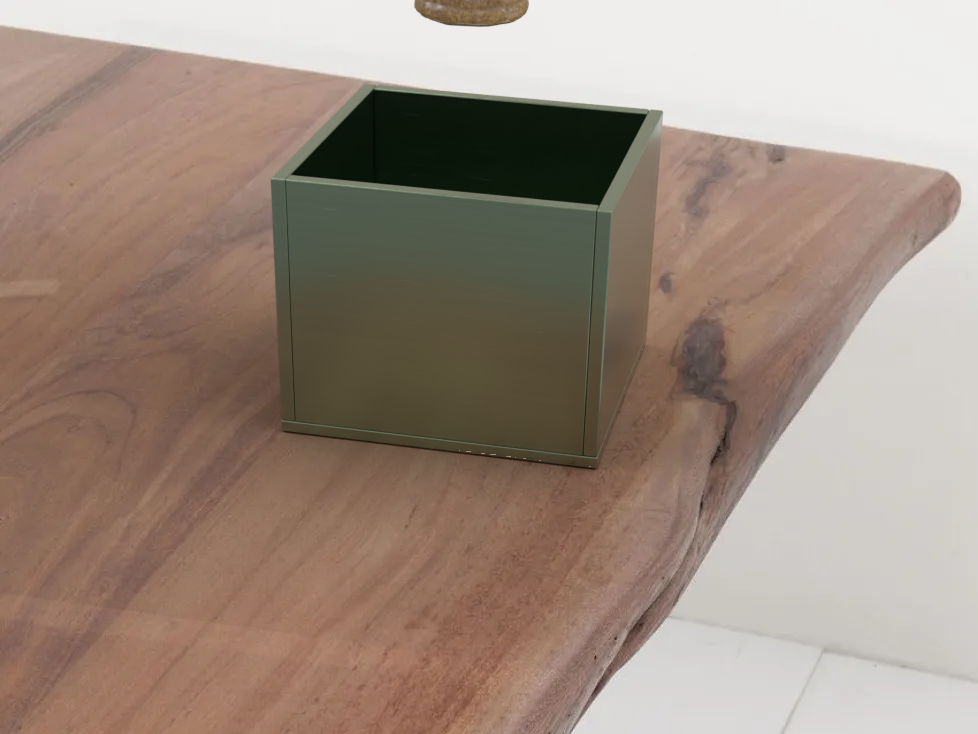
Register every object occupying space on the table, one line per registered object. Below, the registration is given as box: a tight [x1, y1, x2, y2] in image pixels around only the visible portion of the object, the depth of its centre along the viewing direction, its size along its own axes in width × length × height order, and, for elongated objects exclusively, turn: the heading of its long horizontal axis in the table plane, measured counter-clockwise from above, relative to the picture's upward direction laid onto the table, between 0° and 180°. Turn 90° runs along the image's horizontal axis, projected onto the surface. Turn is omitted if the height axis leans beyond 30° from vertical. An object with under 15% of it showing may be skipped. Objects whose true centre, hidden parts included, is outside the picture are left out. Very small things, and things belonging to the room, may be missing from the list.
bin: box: [270, 83, 664, 469], centre depth 79 cm, size 13×13×10 cm
